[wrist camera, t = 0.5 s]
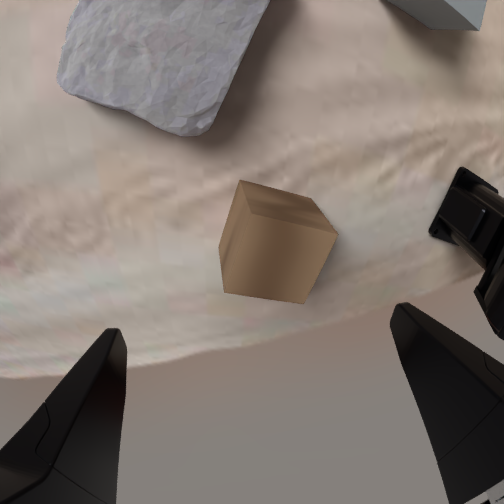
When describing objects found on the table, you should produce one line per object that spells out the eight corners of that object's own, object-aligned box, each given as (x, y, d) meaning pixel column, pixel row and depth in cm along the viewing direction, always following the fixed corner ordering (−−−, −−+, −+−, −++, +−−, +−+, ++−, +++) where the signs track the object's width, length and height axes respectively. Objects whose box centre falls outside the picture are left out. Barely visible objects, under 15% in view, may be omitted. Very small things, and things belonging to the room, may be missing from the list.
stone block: (76, 96, 17) (216, 140, 18) (32, 100, 12) (202, 152, 14) (145, -60, 12) (293, -27, 13) (118, -90, 7) (303, -61, 9)
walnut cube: (310, 197, 21) (338, 234, 17) (284, 259, 24) (303, 304, 19) (239, 179, 20) (251, 213, 16) (218, 246, 22) (224, 292, 18)
